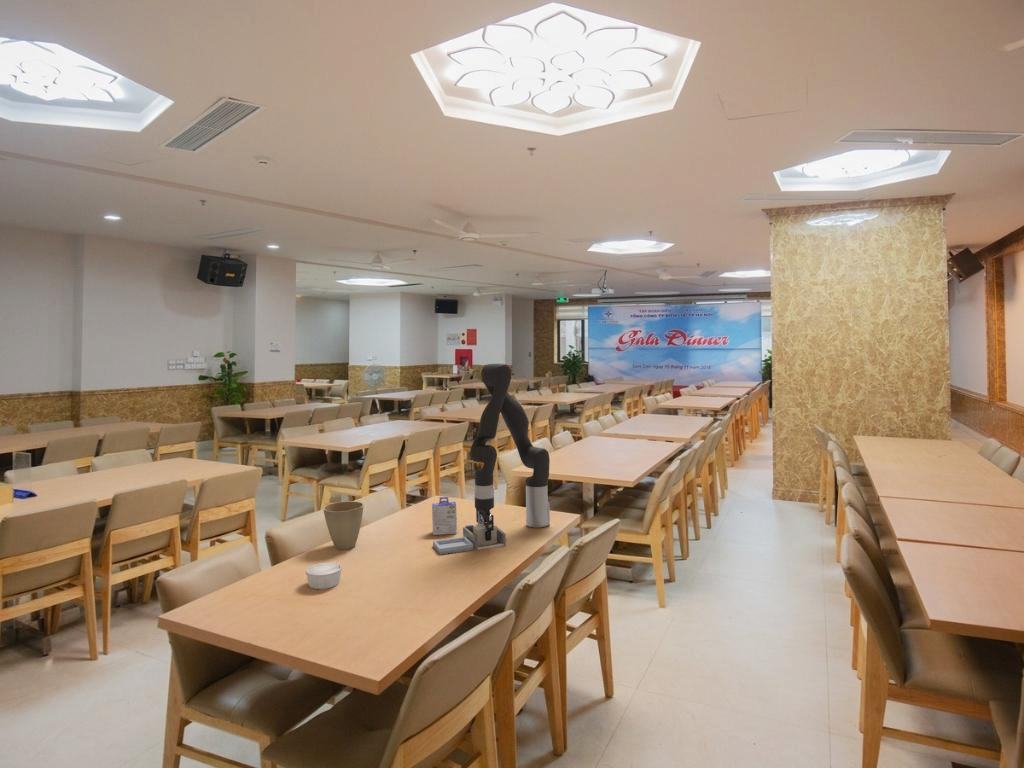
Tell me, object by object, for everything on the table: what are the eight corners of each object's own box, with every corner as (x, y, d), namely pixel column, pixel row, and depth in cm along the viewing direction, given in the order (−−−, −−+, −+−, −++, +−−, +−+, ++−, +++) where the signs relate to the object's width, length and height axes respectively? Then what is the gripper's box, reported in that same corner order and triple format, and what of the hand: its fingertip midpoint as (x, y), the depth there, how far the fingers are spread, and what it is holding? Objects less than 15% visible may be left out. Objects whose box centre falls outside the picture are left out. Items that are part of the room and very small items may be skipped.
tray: (465, 541, 230) (465, 536, 230) (473, 549, 221) (473, 544, 221) (433, 546, 225) (432, 540, 225) (439, 554, 216) (439, 548, 216)
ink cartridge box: (456, 530, 246) (455, 495, 245) (457, 534, 240) (456, 499, 240) (432, 531, 245) (431, 497, 244) (432, 535, 239) (431, 500, 238)
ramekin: (338, 590, 186) (337, 573, 185) (301, 592, 185) (301, 575, 184) (345, 576, 197) (345, 561, 196) (311, 578, 196) (310, 562, 196)
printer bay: (492, 534, 239) (492, 522, 239) (506, 545, 225) (506, 532, 225) (463, 538, 235) (462, 526, 234) (475, 550, 220) (474, 537, 220)
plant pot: (340, 539, 236) (339, 499, 235) (372, 542, 231) (371, 502, 230) (316, 551, 222) (314, 509, 221) (349, 555, 217) (348, 512, 216)
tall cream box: (492, 539, 233) (492, 522, 232) (497, 543, 228) (496, 525, 228) (473, 542, 230) (472, 524, 229) (477, 546, 225) (476, 528, 225)
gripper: (499, 498, 223) (500, 541, 224) (487, 490, 236) (488, 531, 237) (481, 501, 220) (481, 544, 221) (469, 492, 233) (470, 533, 234)
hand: (485, 537), depth 229 cm, fingers open, 7 cm apart
